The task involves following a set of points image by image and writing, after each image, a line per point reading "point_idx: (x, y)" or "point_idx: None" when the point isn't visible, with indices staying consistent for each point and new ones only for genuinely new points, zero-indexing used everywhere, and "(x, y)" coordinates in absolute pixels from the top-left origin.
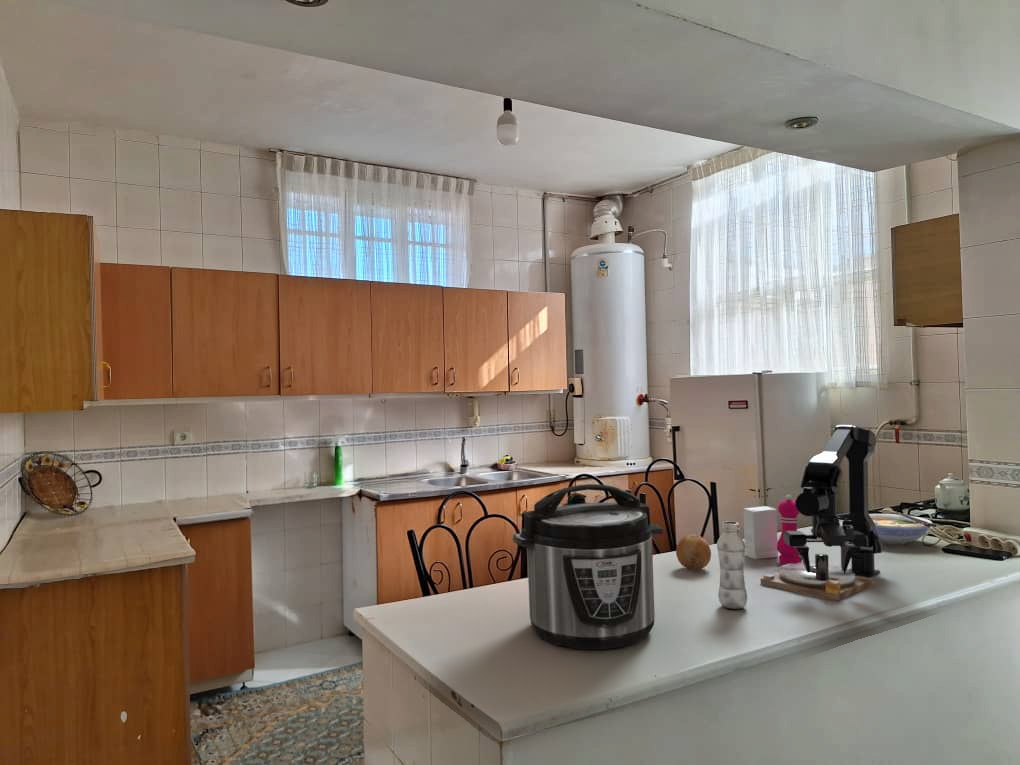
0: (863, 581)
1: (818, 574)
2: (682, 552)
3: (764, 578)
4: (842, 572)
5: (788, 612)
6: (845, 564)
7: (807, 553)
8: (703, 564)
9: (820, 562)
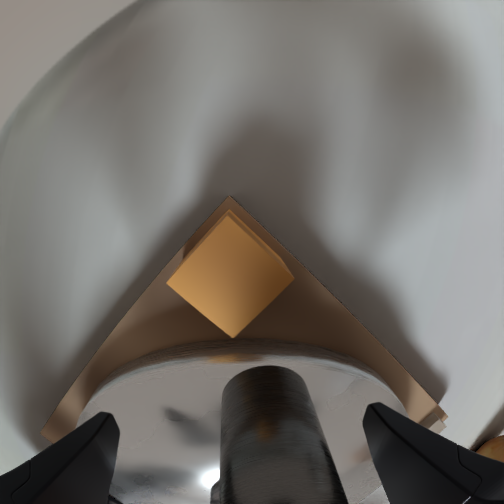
0: (61, 421)
1: (308, 402)
2: None
3: (440, 419)
4: (117, 427)
5: (464, 62)
6: (70, 451)
7: (484, 494)
8: (489, 449)
9: (320, 479)
